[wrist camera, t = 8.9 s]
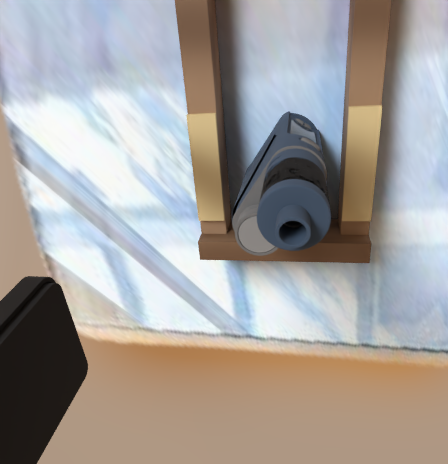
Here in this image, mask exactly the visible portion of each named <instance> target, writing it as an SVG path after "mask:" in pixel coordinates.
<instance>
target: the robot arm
mask: <svg viewBox="0 0 448 464" xmlns="http://www.w3.org/2000/svg"><path fill="white" fill-rule="evenodd" d="M87 370H88V363H87V360H86V357H85V354H84V351H83V348H82V345H81V343H80V339H79V337H78V334H77V331H76V328H75V325H74V322H73V319H72V316H71V314H70V311H69V308H68V305H67V302H66V299H65V296H64V293H63V291H62V288H61V286H60V285H59V284H57V283H56V282H55V280H54V279H52V278H50V277H32V276H28V277H25V278H23V279H22V280H21V281H20V282H19V283H18V284H17V285H16V286H15V287H14V288H13V289H12V290H11V291H10V292H9V293H8V294H7V295H6V296H5V297H4V298H3V299H2V300H1V301H0V464H37V462H38V460H39V459H40V457H41V455H42V453H43V452H44V450H45V448H46V446H47V445H48V443H49V441H50V439H51V437H52V436H53V434H54V432H55V430H56V429H57V427H58V425H59V423H60V422H61V420H62V418H63V416H64V414H65V413H66V411H67V409H68V407H69V406H70V404H71V402H72V400H73V398H74V397H75V395H76V393H77V392H78V390H79V388H80V386H81V384H82V382H83V381H84V379H85V377H86V375H87Z"/></svg>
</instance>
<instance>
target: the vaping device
mask: <svg viewBox="0 0 448 464" xmlns="http://www.w3.org/2000/svg"><path fill="white" fill-rule="evenodd" d="M326 180H327V170H326V166H325V162H324V156H323V151H322V145H321V139H320V134H319V130H316V127H315V126H314V124H313V123H312V122H311V121H310V120H308V119H307V118H306V117H304V116H302V115H299V114H294V113H290V112H287V113H285V114H284V115H283V116H282V117H281V118H280V120H279V121H278V123H277V124H276V126H275V128H274V129H273V131H272V132H271V134H270V135H269V137H268V139H267V140H266V142H265V143H264V145H263V146H262V148H261V150H260V151H259V153H258V154H257V156H256V157H255V159H254V161H253V162H252V164H251V165H250V166H249V167H248V169H247V171H246V174H245V177H244V179H243V182H242V185H241V188H240V191H239V194H238V197H237V200H236V203H235V205H234V208H233V211H232V225H233V229H234V232H235V238H236V241H237V243H238V245H239V246H240V247H241V248H242V249H243V250H244V251H246V252H247V253H249V254H252V255H257V256H264V255H268V254H271V253H273V252H274V251H276V250H277V249H278V248H280V249H283V250H289V251H299V250H304V249H308V248H310V247H312V246H314V245H316V244H317V243H319V242H320V241H321V240H322V239H323V238H324V237H325V235H326V234H327V232H328V230H329V227H330V223H331V211H330V205H329V199H328V192H327V186H326Z"/></svg>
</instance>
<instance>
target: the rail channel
mask: <svg viewBox="0 0 448 464" xmlns="http://www.w3.org/2000/svg"><path fill="white" fill-rule="evenodd" d="M391 1H392V0H350V12H349V29H348V47H347V64H346V82H345V99H344V117H343V134H342V152H341V169H340V187H339V204H338V219H331V223H330V227H329V230H328V232H327V234H326V235H325V237H324V238H323V239H322V240H321V241H320V242H319V243H317V244H316V245H314V246H312V247H310V248H308V249H304V250H299V251H289V250H283V249H280V248H278V249H277V250H276V251H274V252H273V253H271V254H268V255H264V256H257V255H252V254H249V253H247V252H246V251H244V250H243V249H242V248H241V247H240V246H239V245H238V243H237V241H236V238H235V232H234V229H233V225H232V219H231V206H230V193H229V179H228V166H227V153H226V140H225V127H224V114H223V101H222V88H221V74H220V61H219V48H218V35H217V22H216V9H215V0H175V6H176V15H177V24H178V32H179V41H180V49H181V58H182V67H183V75H184V84H185V93H186V101H187V110H188V115H187V123H188V132H189V140H190V149H191V157H192V166H193V174H194V183H195V192H196V200H197V209H198V217H199V221H200V222H201V231H202V234H201V236H200V239H199V241H198V245H199V253H200V260H247V261H296V262H345V263H369V262H370V252H371V241H370V238H369V225H370V221H371V216H372V206H373V196H374V186H375V176H376V166H377V156H378V146H379V135H380V125H381V115H382V105H381V103H382V93H383V82H384V72H385V62H386V52H387V41H388V31H389V21H390V11H391Z"/></svg>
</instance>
